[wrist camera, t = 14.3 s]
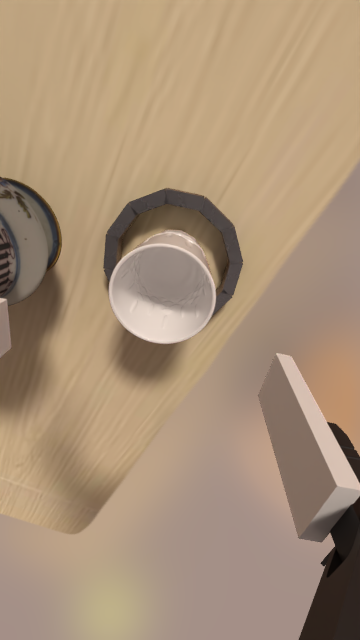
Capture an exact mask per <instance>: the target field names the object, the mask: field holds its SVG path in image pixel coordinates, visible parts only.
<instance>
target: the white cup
mask: <svg viewBox="0 0 360 640" xmlns="http://www.w3.org/2000/svg"><path fill="white" fill-rule="evenodd" d="M109 300H110V304H111V307H112V310H113V312H114V314H115V316H116V318H117V319H118V320H119V322H120V323H121V324H122V325H123V326H124V327H125V328H126V329H127V330H128V331H129V332H130V333H132V334H133V335H135V336H137V337H139V338H141V339H143V340H145V341H148V342H152V343H158V344H172V343H178V342H182V341H184V340H187V339H189V338H191V337H193V336H194V335H196V334H197V333H199V332H200V331H201V330H202V329H203V328H204V327H205V326H206V324H207V323H208V321H209V320H210V318H211V316H212V314H213V311H214V308H215V302H216V290H215V285H214V281H213V278H212V274H211V271H210V267H209V264H208V261H207V258H206V256H205V254H204V251H203V249H202V248H201V246H200V245H199V243H198V242H197V240H196V239H195V238H194V237H192V236H190V235H189V234H187V233H185V232H184V231H182V230H164V231H162V232H160V233H157V234H155V235H153V236H151V237H149V238H148V239H146V240H145V241H143V242H142V243H140V244H139V245H138V246H137V247H136V248H134V249H133V250H132V251H131V252H129V253H128V254H127V255H125V256H124V257H123V258H122V259H121V260H120V261H119V263H118V264H117V265H116V267H115V269H114V271H113V273H112V275H111V278H110V283H109Z"/></svg>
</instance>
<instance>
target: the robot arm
mask: <svg viewBox="0 0 360 640" xmlns="http://www.w3.org/2000/svg"><path fill="white" fill-rule="evenodd" d="M11 348H12V347H11V337H10V326H9V315H8V305H7V299H3V298H0V358H1V357H2V356H3V355H4V354H5V353H6V352H7V351H8V350H10V349H11ZM258 397H259V401H260V404H261V408H262V411H263V415H264V418H265V422H266V425H267V429H268V432H269V435H270V439H271V443H272V446H273V450H274V453H275V456H276V460H277V463H278V467H279V471H280V474H281V478H282V481H283V485H284V488H285V492H286V495H287V499H288V502H289V506H290V510H291V513H292V516H293V520H294V523H295V527H296V531H297V534H298V538H299V539H305V540H311V541H317V542H322V541H323V540H324V539H325V538H326V537H327V535H328V534H329V533H331V535H332V538H333V541H334V543H335V547H334V548H333V549H332V550H331V552H330V553H329V554H328V555H327V556H326V557H325V558H324V560H323V561H322V562H321V564H322V565H323V566H325V565H326V566H325V569H324V572H323V575H322V577H321V580H320V583H319V586H318V588H317V591H316V594H315V596H314V599H313V602H312V605H311V607H310V610H309V613H308V616H307V618H306V621H305V624H304V626H303V629H302V632H301V635H300V638H299V640H360V456H359V455H358V453H357V451H356V450H354V446H353V445H352V443H351V441H350V440H349V438H348V436H347V435H346V434H345V433H344V432H343V431H342V430H341V429H340V428H339V427H338V426H337V425H336V424H334V423H329V422H326V420H325V418H324V416H323V414H322V412H321V411H320V409H319V407H318V405H317V403H316V401H315V399H314V398H313V396H312V394H311V392H310V390H309V388H308V386H307V385H306V383H305V381H304V379H303V377H302V375H301V374H300V372H299V370H298V368H297V366H296V364H295V362H294V361H293V359H292V357H291V356H288V355H283V354H278V353H276V354H275V357H274V359H273V361H272V364H271V366H270V369H269V371H268V373H267V376H266V378H265V380H264V383H263V385H262V388H261V390H260V392H259V394H258Z"/></svg>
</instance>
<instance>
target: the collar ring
mask: <svg viewBox="0 0 360 640" xmlns="http://www.w3.org/2000/svg"><path fill="white" fill-rule="evenodd" d="M164 204H171V205H175V206H180V207H184V208H189V209H193V210H198V211H200V212H201V213H202V214H203V215H204V216H205V217H206V218H207V219H208V220H209V221H210V222H211V223H212V224H213V225H214V226H215V227H216V228H217V229H218V230H219V231H220V232H221V233H222V236H223V240H224V244H225V248H226V251H227V255H228V261H227V265H226V268H225V272H224V275H223V279H222V282H221V285H220V286H219V287H218V288H217V289H216V302H215V308H214V311H213V314H212V316H213V315H214V314H215V313H216V312H217V311H218V310H219V309H220V308H221V307H222V306H223V305H224V304H225V303H226V302H227V301H229V300H230V299H231V298H232V295H233V294H234V291H235V288H236V284H237V281H238V278H239V275H240V271H241V268H242V265H243V263H242V262H243V260H242V256H241V251H240V247H239V243H238V239H237V235H236V231H235V227H234V225H233V224H232V222H231V221H230V220H229V219H228V218H227V217H226V216H225V215H224V214H223V213H222V212H221V211H220V210H219V209H218V208H217V207H216V206H215V205H214V204H213V203H212V202H211V201H210V200H208V199H207V198H206V197H205V198H204V196H202V195H198V194H193V193H189V192H184V191H179V190H175V189H170V188H166V189H162V190H160V191H157V192H155V193H152V194H149V195H147V196H144V197H142V198H139V199H136V200H134V201H131V202H129V203H128V204H127V205H126V206H125V208H124V209H123V211H122V212H121V213H120V215H119V216H118V217H117V219H116V220H115V222H114V223H113V224H112V226H111V227H110V229H109V230H108V231H107V234H106V242H105V255H104V269H105V270H104V272H105V274H106V276H107V278H108V280H109V282H110V278H111V275H112V273H113V271H114V269H115V267H116V265H117V264H118V263H119V261H120V260H121V254H122V245H123V236H124V234H125V233H126V232H127V230H128V229H129V228H130V226H131V225H132V224H133V222H134V221H135V220H136V218H137V217H138V216H139V214H140V213H143V212H146V211H148V210H151V209H154V208H156V207H159V206H162V205H164ZM212 316H211V317H212Z"/></svg>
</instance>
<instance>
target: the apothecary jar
mask: <svg viewBox="0 0 360 640" xmlns="http://www.w3.org/2000/svg"><path fill="white" fill-rule="evenodd" d="M60 250H61V232H60V227H59V224H58V221H57V218H56V216H55V214H54V212H53V211H52V209H51V208H50V206H49V204H48V203H47V202H46V201H45V200H44V199H43V198H42V197H41V196H40V195H39V194H38V193H37V192H36V191H34V190H33V189H32V188H30V187H29V186H27V185H25V184H23V183H21V182H18V181H16V180H12V179H8V178H2V177H0V298H3V299H7V305H8V306H9V305H13V304H16V303H18V302H20V301H22V300H24V299H26V298H27V297H29V296H30V295H31V294H32V293H33V292H34V291H35V290H36V289H37V288H38V287H39V285H40V284H41V282H42V280H43V278H44V275H45V273H46V271H48V270H49V269H50V268H51V267H52V266H53V265H54V264H55V262H56V261H57V259H58V257H59V254H60Z"/></svg>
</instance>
